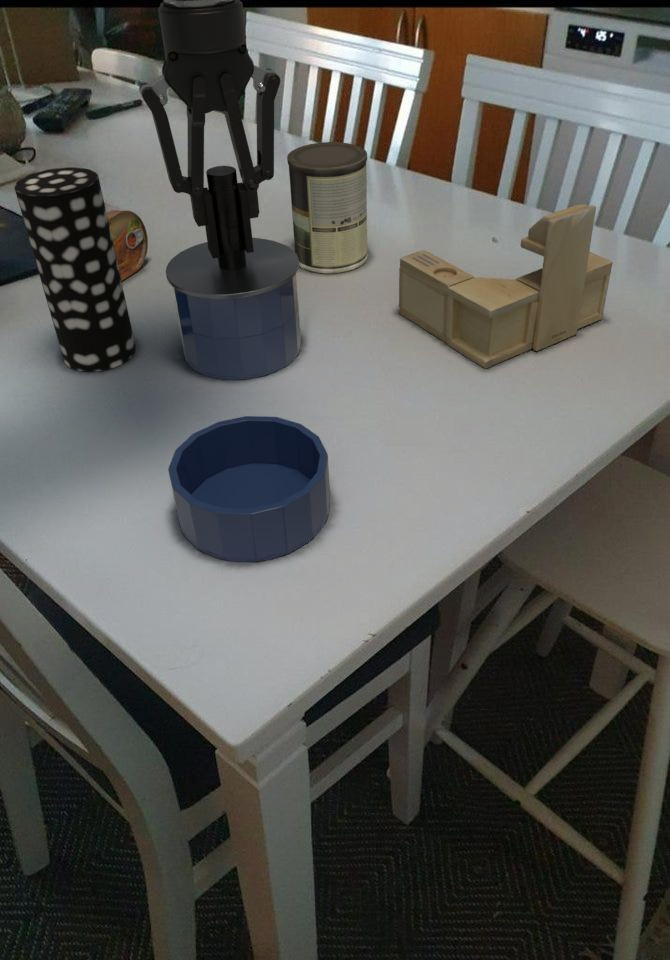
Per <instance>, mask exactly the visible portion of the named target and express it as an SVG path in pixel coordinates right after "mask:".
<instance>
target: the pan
mask: <svg viewBox="0 0 670 960" xmlns="http://www.w3.org/2000/svg"><path fill="white" fill-rule="evenodd" d="M329 467H330V466H329V454H328V451H327V449H326V448H325V446H324V444H323V442H322V440H321V438H320V437H319V435H317V434H316V433H314V432H313V431H311V430H310V429H309V428H307V426H304V425H303V424H302V423H299V422H296V421H291V420H290V419H285V418H281V417H278V416H258V415H257V416H255V415H254V416H253V415H244V416H239V417H235V418H229V419H226V420H225V419H224V420H221V421H217V422H215V423H213V424H210V425H209V426H207V427H205V428H203V429H200V430H198V431H196V432H194V433H191V435H190V436H189V437H188V438H187V439H186V440H185V441H183V442H182V443H181V444H180V445H179V446H178V447H177V448H176V449H175V450H174V453H173V455H172V458H171V460H170V462H169V466H168V470H167V472H168V477H169V481H170V486H171V490H172V495H173V499H174V504H175V509H176V513H177V518H178V521H179V525H180V526H179V527H180V529H181V533H182V534H183V535H184V537H185V538H186V539H187V540H188V542H189V543H190V544H191V545H192V546H193V547H195V548H196V549H197V550H199V551H201V552H203V553H204V554H206V555H209V556H211V557H214V558H216V559H219V560H220V559H221V560H225V561H230V562H240V563H244V562H245V563H248V562H249V563H252V562H263V561H267V560H272V559H277V558H280V557H283V556H286V555H288V554H290V553H293V552H294V551H297V550H299V549H300V548H302V547H303V546H305V545H306V544H308V543H309V542H310V541H311V540H313V539H314V538H315V537H316V536H317V535H318V534H319V532H321V530H322V529H323V527H324V525H325V524H326V521H327V520H328V516H329V512H330V501H331V490H330V472H329V471H330V469H329Z"/></svg>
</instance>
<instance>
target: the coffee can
mask: <svg viewBox="0 0 670 960" xmlns="http://www.w3.org/2000/svg"><path fill="white" fill-rule="evenodd" d="M286 158H287V159H286V160H287V161H286V162H287V165H288V174H289V189H290V190H289V191H290V199H291V200H290V202H291V214H292V216H291V217H292V230H293V231H292V232H293V242H294V252H295V253H296V254H297V256H298V259H299V268H301V269H303V270H305V271H308V272H311V273H317V274H325V275H326V274H327V275H328V274H340V273H345V272H350V271H353V270H356V269H357V268H359V267H361V266H362V265H364V264H365V263H366V262H367V260H368V258H369V254H368V208H367V205H368V204H367V203H368V201H367V199H368V193H367V192H368V191H367V190H368V187H367V186H368V185H367V183H368V180H367V161H368V152H367V150H366V149H365V148H363V147H361V146H359V145H357V144H354V143H349V142H340V141H325V142H324V141H323V142H322V141H321V142H314V143H309V144H305V145H302V146H299V147H297V148H294V149H293V150H291V151H290V152H289V153H288V154H287V156H286Z"/></svg>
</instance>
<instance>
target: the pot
mask: <svg viewBox="0 0 670 960" xmlns="http://www.w3.org/2000/svg"><path fill="white" fill-rule="evenodd" d="M297 281H298V280H297V274H296V275H295V276H294V277H293V278H292V279H291V280H290V281H288V282H287V283H286V284H284V285H282V286H280V287H278V288H276V289H274V290H271V291H268V292H265V293H262V294H258V295H254V296H249V297H243V298H234V299H209V298H201V297H196V296H192V295H188V294H185V293H183V292H180V291H179V290H177V289H175V288H174V287H173V286H172V285H171V289H172V295H173V300H174V305H175V311H176V316H177V322H178V329H179V335H180V339H181V344H182V350H183V355H184V358H185V361H186V363H187V364H188V366H189V367H190V368H191V369H192V370H194V371H195V372H197V373H199V374H201V375H203V376H206V377H209V378H213V379H219V380H228V381H229V380H230V381H241V380H251V379H256V378H257V379H258V378H261V377H265V376H268V375H271V374H273V373H277V372H278V371H280V370H282V369H284V368H285V367H287V366H288V365H290V364H291V363H292V362H293V361H294V360H295V359H296V358H297V357H298V354H299V352H300V349H301V342H302V340H301V339H302V338H301V325H300V309H299V295H298V284H297V283H298V282H297Z"/></svg>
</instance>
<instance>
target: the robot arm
mask: <svg viewBox="0 0 670 960" xmlns="http://www.w3.org/2000/svg"><path fill="white" fill-rule="evenodd" d="M157 12H158V18H159V24H160V31H161V37H162V43H163V50H164V60H163V65H162V68H161V75H159V76H157V77H156V78H155V79H153V80H152V81H150V82H149V83H148V82H142V83H141V84H139V87H138V91H139V93H140V96H141V97H142V99H143V101H144V102H145V104H146V106H147V107H148V109H149V110H150V112H151V115H152V119H153V123H154V126H155V131H156V135H157V139H158V143H159V147H160V150H161V153H162V158H163V162H164V166H165V169H166V174H167V176H168V181H169V183H170V186H171V188H172V190H173V192H175V193H176V194H182V193H184V194H187V195H189V197H190V198H189V199H190V202H191V211H192V217H193V219H194V222H195V225H196V226H197V227H198V228H199V227H204V229H205V234H206V235H205V236H206V242H207V243H208V249H209V251H210V253H211V255H212V258H213V259H214V258H220V254H219V247H218V239H217V232H216V224H215V217H214V209H213V202H212V196H211V194H210V193H209V189H208V186H207V187H205V125H206V114H209V113H211V112H214V111H220V112H223V114H224V117H225V121H226V125H227V129H228V133H229V137H230V141H231V144H232V149H233V153H234V157H235V160H236V164H237V168H238V172H239V176H240V179H241V182H237V183H238V192H239V201H240V210H241V219H242V228H243V237H244V246H245V251H246V252H247V253H251V252H254V249H253V240H252V238H253V231H252V222H251V219H257V218H259V216H260V205H259V204H260V203H259V195H258V190H259V187H260V184H261V183H263V182H265V181H271V180H272V179H273V178H274V175H275V101H276V97H277V94H278V91H279V88H280V85H281V80H282V79H281V77H280V76H279V75H278V74H277V73H276V72H275V71H274V70H273V69H271V68H262V67H260V66H258V65H255V64H254V61H253V59H252V57H251V55H250V54H249V51H248V46H247V35H246V26H245V13H244V6H243V2H242V1H241V0H163V1H162V2H161V3H160V4H159V7H158V8H157ZM251 79H252V86H253V87H252V88H253V89H254V91H256V98H255V99H256V102H255V105H256V106H255V107H256V165H255V166H254V163H253V158H252V155H251V150H250V147H249V142H248V139H247V134H246V130H245V126H244V122H243V115H242V111H241V107H240V103H239V102H240V100H241V98H242V96H243V94H244V92H245V90H246V88H247V86H248V84H249V83H250V80H251ZM169 88H170V89H171V90H172V91H173V93H175V94H176V96H177V97H178V98H179V99H180V100H181V101H182V102H183V103H184V105H185V106H186V118H187V176H186V175H185V176H184V175H183V173H182V168H181V165H180V160H179V157H178V152H177V149H176V145H175V141H174V137H173V132H172V129H171V125H170V121H169V120H170V119H169V117H168V114H167V111H166V109H165V107H164V106H166V105H167V104H168V101H169V97H168V93H167V91H168V89H169Z"/></svg>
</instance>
